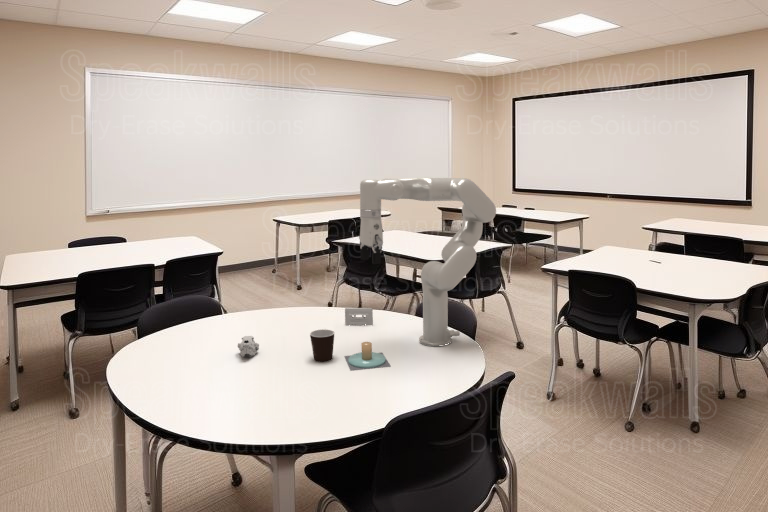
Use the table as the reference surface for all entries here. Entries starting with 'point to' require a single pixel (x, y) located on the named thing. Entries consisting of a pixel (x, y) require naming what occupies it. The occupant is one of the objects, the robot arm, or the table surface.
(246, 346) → the skull
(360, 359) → the lid
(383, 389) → the table surface
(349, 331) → the table surface
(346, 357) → the mat
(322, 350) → the coffee mug
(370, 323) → the cassette
